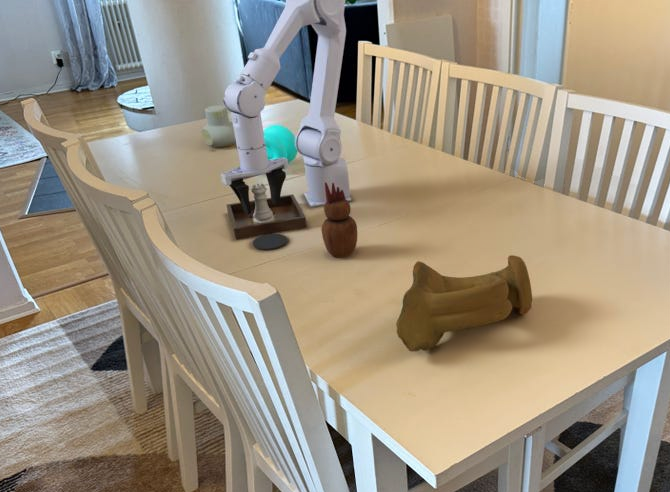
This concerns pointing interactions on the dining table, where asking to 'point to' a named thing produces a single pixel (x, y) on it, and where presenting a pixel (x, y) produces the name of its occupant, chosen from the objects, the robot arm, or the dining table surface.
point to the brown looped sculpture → (459, 302)
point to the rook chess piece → (261, 205)
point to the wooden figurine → (338, 224)
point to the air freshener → (218, 127)
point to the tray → (285, 214)
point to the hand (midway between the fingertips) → (262, 208)
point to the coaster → (270, 241)
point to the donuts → (279, 143)
